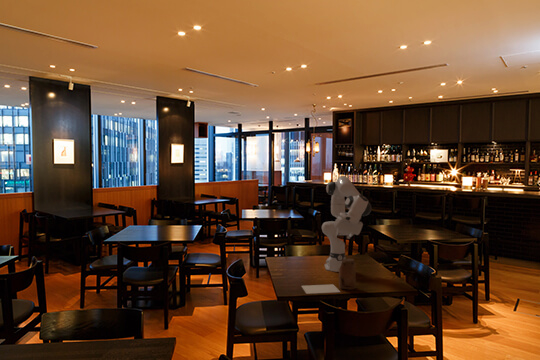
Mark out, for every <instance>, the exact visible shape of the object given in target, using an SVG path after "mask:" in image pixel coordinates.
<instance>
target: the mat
mask: <svg viewBox="0 0 540 360" xmlns="http://www.w3.org/2000/svg"><path fill="white" fill-rule="evenodd" d="M301 288H302V290H303V291H304V293H305V294H307V295H313V294H316V295H317V294H330V293H331V294H334V293H338V294H339V293H341V291H340V290H339V288H338V287H336V286H335V285H334V284H333V283H332V284H331V283H330V284H313V285H301Z"/></svg>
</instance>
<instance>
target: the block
mask: <svg viewBox="0 0 540 360" xmlns="http://www.w3.org/2000/svg"><path fill="white" fill-rule="evenodd" d="M356 278H357V277H356V261H355V259H354V258H348V257H345V258H343V260H342V264H341V267H340V269H339V272H338V287H339V288H340V289H342V290H351V291H352V290H355V289H356V282H357V281H356V280H357V279H356Z"/></svg>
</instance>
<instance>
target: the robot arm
mask: <svg viewBox="0 0 540 360" xmlns="http://www.w3.org/2000/svg"><path fill="white" fill-rule="evenodd" d="M354 184H355V183H353V182H352V181H351V179H350V178H349V177H348V176H345V175H341V176H339V177H338V178H337V180H336V181H330V182H328V183H327V184H326V188H325V190H326V193H327V194H328V195H329V196H331V198H330V199H331V200H330V213H331V215H332V216H333V217H335V218H336V219H335V221H333V220H331V221H325V222H323V223H322V225H321V231H322V233H323V234H324V235H325V236H326V237H327V239H328V240H329V242H330V252H329V257H327V259H326V260H325V263H324V268H325V270H326V271H330V272H336V273H337V272H338V273H339V269H340V267H341V264H342V260H343V258H346V252H345V251H346V249H345V246H346V244H345V242H344V241H343V240H342V239H340V238H338V236H346V239H347V240H350V239H351V238H352V237H353V236H354V235H356V236H359V235H360V233H361V231H362V229H363V226H364V224H363V223H364V222H362V221H360V220H361V219H362V217H365V216H369V215H370V213H371V212H372V210H373V209H372V204H371V202H369V199H368V198H367V197H366V196H365V195H363V194H362V193H360V192H359V190H358V189H357V188H356V187H355V185H354ZM345 197H346V199H345ZM346 209H348V212H346Z"/></svg>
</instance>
